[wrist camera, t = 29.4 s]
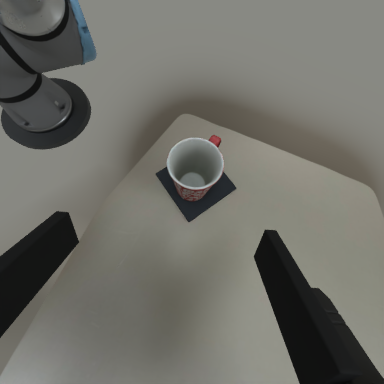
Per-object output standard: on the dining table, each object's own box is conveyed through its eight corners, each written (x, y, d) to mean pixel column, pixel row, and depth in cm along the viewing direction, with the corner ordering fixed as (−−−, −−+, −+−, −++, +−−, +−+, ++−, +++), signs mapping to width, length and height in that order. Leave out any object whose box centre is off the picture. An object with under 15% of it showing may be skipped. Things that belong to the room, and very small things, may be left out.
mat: (155, 174, 40) (155, 173, 39) (202, 146, 42) (202, 144, 42) (188, 222, 37) (188, 222, 36) (235, 188, 40) (236, 188, 39)
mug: (196, 213, 37) (202, 201, 24) (164, 190, 38) (154, 166, 25) (226, 172, 40) (246, 141, 27) (196, 152, 41) (202, 112, 28)
